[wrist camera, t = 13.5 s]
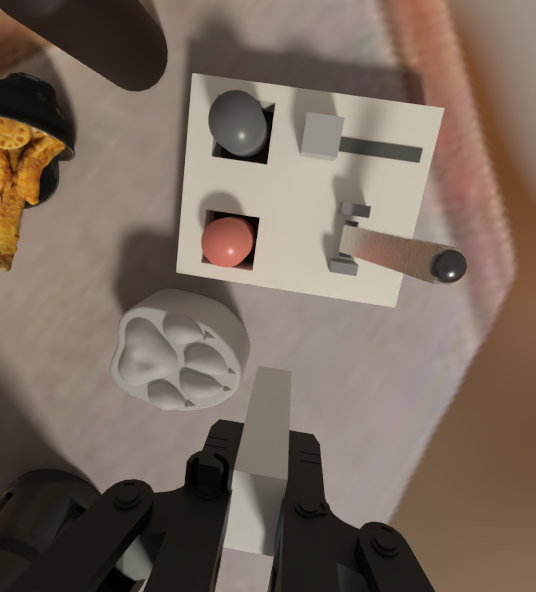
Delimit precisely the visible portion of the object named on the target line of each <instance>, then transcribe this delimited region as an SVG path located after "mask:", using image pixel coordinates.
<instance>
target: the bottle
mask: <svg viewBox="0 0 536 592" xmlns="http://www.w3.org/2000/svg"><path fill="white" fill-rule="evenodd" d="M0 8H1V9H2V10H3V11H4V12H5V13H6V14H7V15H9V16H10V17H12V18H13V19H15V20H17V21H18V22H20V23H21V24H23V25H24V26H26V27H27V28H29V29H30V30H32V31H34V32H35V33H37V34H38V35H40V36H41V37H43V38H44V39H46V40H48V41H49V42H51V43H52V44H54V45H55V46H57V47H58V48H60V49H61V50H63V51H65V52H66V53H68V54H69V55H71V56H72V57H74V58H75V59H77V60H78V61H80V62H82V63H83V64H85V65H86V66H88V67H89V68H91V69H92V70H94V71H96V72H97V73H99V74H100V75H102V76H103V77H105V78H106V79H108V80H109V81H111V82H113V83H114V84H116V85H117V86H119V87H121V88H123V89H126V90H129V91H142V90H146V89H149V88H151V87H152V86H153V85H155V84H156V83H157V82H158V81H159V80H160V78H161V77H162V75H163V74H164V71H165V68H166V65H167V53H168V50H167V46H166V42H165V37H164V35H163V34H162V32H161V30H160V28H159V26H158V25H157V24H156V23H155V21H154V20H153V19H152V17H151V16H150V15H149V14H148V12H147V11H146V10H145V9H144V7H143V6H142V5H141V3H140V2H139V1H138V0H0Z"/></svg>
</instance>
